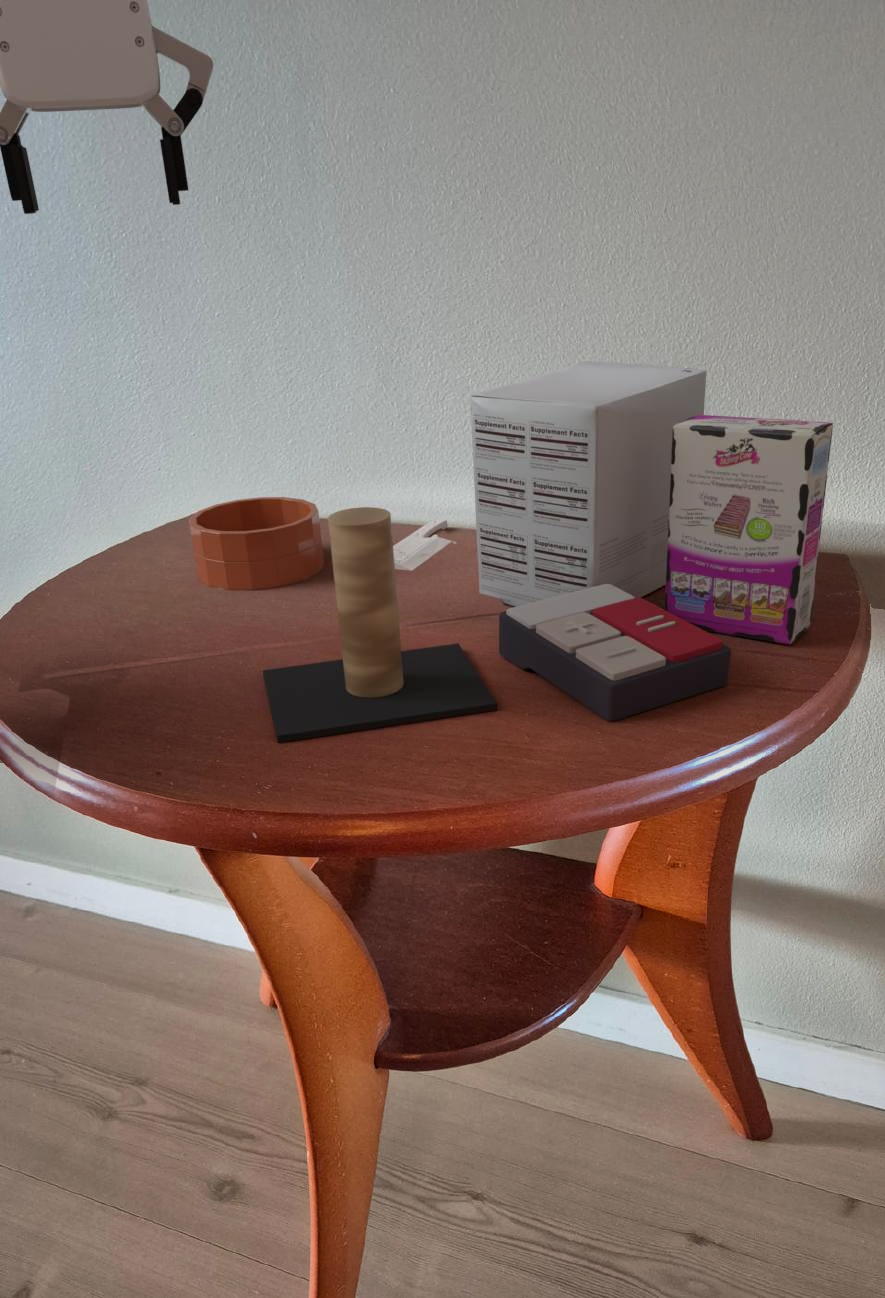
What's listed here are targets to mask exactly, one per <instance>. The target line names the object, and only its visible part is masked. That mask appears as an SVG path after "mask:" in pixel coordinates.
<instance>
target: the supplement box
mask: <svg viewBox="0 0 885 1298" xmlns="http://www.w3.org/2000/svg"><path fill="white" fill-rule="evenodd" d="M706 386H707V370H704V369H697V368H690V367H689V368H688V367H678V366H677V367H676V366H664V365H651V364H638V363H623V362H621V363H620V362H607V361H606V362H605V361H589V360H584V361H581V362H578V363H575V364H572V365H569V366H566V367H563V368H559V369H556V370H553V371H549V372H546V373H542V374H538V375H535V376H532V377H529V378H524V379H522V380H518V381H515V382H512V383H508V384H505V385H501V386H498V387H494V388H491V389H486V390H483V391H479V392H476V393H472V394H470V397H469V399H470V400H469V401H470V417H471V418H470V419H471V439H472V440H471V443H472V459H473V460H472V461H473V463H472V464H473V481H474V484H473V485H474V503H475V504H474V505H475V507H474V508H475V527H476V528H475V529H476V549H477V550H476V551H477V566H478V567H477V569H478V589H479V590H478V591H479V594H481V595H484V596H488V597H491V598H495V599H499V600H500V602H501V603H502V604H505V605H509V606H512V607H517V606H521V605H525V604H529V603H533V602H536V601H540V600H544V599H548V598H552V597H556V596H560V595H564V594H568V593H572V592H575V591H579V590H583V589H587V588H591V587H595V586H599V585H603V584H611V585H613V586H615V587H617V588H619V589H621V590H623V591H625V592H626V593H628V594H630V595H632V596H634V597H635V598H643V597H644V596H647V595H649V594H650V593H652V592H654V591H657V590H658V589H660V588H662V587H663V586H666V569H667V547H668V522H669V503H670V481H671V450H672V431H673V426H674V425H676V424H678V423H680V422H683V421H685V420H686V419H688V418H691V417H693V416H696V415H705V401H706V388H707V387H706Z"/></svg>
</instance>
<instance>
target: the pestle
mask: <svg viewBox="0 0 885 1298" xmlns="http://www.w3.org/2000/svg"><path fill="white" fill-rule="evenodd" d="M327 524H328V534H329V543H330V544H329V545H330V554H331V562H332V572H333V582H334V590H335V599H336V601H335V602H336V608H337V610H336V611H337V617H338V627H339V628H338V630H339V636H340V637H339V639H340V646H341V655H342V657H341V658H342V659H343V666H344V676H345V685H346V690H347V691H348V692H349V693H350V694H352V695H355V696H358V697H365V698H375V697H383V696H387V695H390V694H393V693H395V692H397V691H399V690H400V689H401V688H402V687H403V684H404V680H403V667H402V654H401V651H402V642H401V631H400V630H401V629H400V617H399V605H398V603H399V602H398V593H397V577H396V569H395V565H394V552H393V546H394V539H393V528H392V515H391V512H390V511H389V510H387V509H384V508H380V507H369V506H363V507H362V506H361V507H352V508H346V509H342V510H337V511H336V512H335V511H334V512H333V513H331V514H330V515H329V516H328V517H327Z"/></svg>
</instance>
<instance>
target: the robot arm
mask: <svg viewBox="0 0 885 1298" xmlns="http://www.w3.org/2000/svg"><path fill="white" fill-rule="evenodd" d="M158 55H159V56H161V57H162V58H165V59H166V60H168V61H170V62H173V63H174V64H177V65H178V66H180V67H182V68H184V69H185V70H186V71H187V72H188V75H189V79H188V83H187V86H186V89H185V93H184V94H183V95H182V97H181V98H180V100H179V101H178V103H177V104H176V106H175V107H174V109H172V107H171V106H170V105H169V104H168V103H167V102H166V100H165V99H164V98H163V97H162V96H161V95H160V93H161V74H160V65H159V59H158ZM214 66H215V65H214V61H213V59H212V58H211V56H209V55H208V54H206V53H204V52H202V51H200V50H198V49H196V48H195V47H193V46H190V45H189V44H187V43H185V42H183V41H181V40H179V39H178V38H176V37H174V36H172V35H170V34H168V33H167V32H164V31H163V30H160V29H159V28H157V27H155V26H154V25H152V18H151V13H150V9H149V3H148V0H0V90H1V92H2V95H3V97H4V98H5V99H6V100H5V102H4V105H3V106H2V108H1V110H0V154H1V159H2V162H3V163H2V164H3V167H4V171H5V177H6V181H7V185H8V186H7V187H8V190H9V195H10V197H11V201H12V202H18V201H21V205H22V210H23V213H24V215H30V214H36V213H37V212H39V210H40V209H39V202H38V198H37V194H36V187H35V184H34V179H33V174H32V170H31V164H30V160H29V156H28V150H27V148H26V147H25V146H23V145H22V141H21V137H20V134H21V132H22V129H23V127H24V126H25V124H26V122H27V120H28V118H29V116H30V114H31V112H35V113H51V112H54V113H55V112H57V113H58V112H78V111H79V112H80V111H99V110H101V111H102V110H119V109H133V108H140V107H143V108H144V110H145V111H146V112H147V113H148V114H149V115H150V116H151V117H152V118H153V119H154V120H155V122H156V123H157V124H158V125H159V126H160V130H161V136H162V139H159V142H160V143H159V145H160V150H161V156H162V163H163V169H164V176H165V182H166V189H167V195H168V201H169V204H172V206H177V205H181V200H180V199H181V198H180V192H186V191H189V184H188V178H187V176H188V175H187V169H186V163H185V157H184V156H185V155H184V148H183V143H182V135H183V134H184V132H185V131H186V129H187V128H188V126H189V125H190V123H191V122H192V121H193V119H194V118H195V116H196V115H197V113H198V112H199V110H200V109H201V108H202V105H203V103H204V100H205V96H206V93H207V89H208V86H209V83H210V80H211V77H212V73H213V70H214Z"/></svg>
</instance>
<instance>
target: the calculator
mask: <svg viewBox="0 0 885 1298" xmlns="http://www.w3.org/2000/svg"><path fill="white" fill-rule="evenodd" d="M498 653H499V655H500V656H501V657H503V658H504V659H506V660H508V662H510V663H512V664H513V665H515V666H516V667H518V668H519V669H520V670H522V671H525V670H528V669H530V670H532V671H534V673H536V674H538V675H539V676H541V677H542V678H544V679H545V680H547V681H548V682H549V683H551V684H553V685H554V686H555V687H557V688H559V689H560V690H562V691H563V692H565V693H566V694H567V695H569V696H570V697H571V698H574V699H575V700H576V701H578V702H579V703H581V704H582V705H584V706H585V707H587V708H588V709H589V710H591V711H592V712H594V713H595V714H597V715H598V716H599V717H601V718H602V719H604V720H606V721H608V722H615V721H616V722H617V721H619V720H622V719H625V718H629V717H632V716H634V715H637V714H640V713H644V712H647V711H649V710H653V709H656V708H659V707H662V706H666V705H668V704H672V703H675V702H679V701H682V700H685V699H688V698H691V697H693V696H697V695H699V694H700V695H701V694H704V693H706V692H709V691H713V690H715V689H718V688H719V689H720V688H723V687H724V686H726V685H727V684H728V681H729V673H730V672H729V671H730V663H731V655H732V649H731V647H730V646H728V645H725V644H724V640H723V639H721V638H719V637H717V636H715V635H713V633H712V634H711V633H709V631H705V630H702V629H700V628H698V627H696V626H694V625H692V624H690V623H688V622H687V621H685V620H683V619H681V618H679V617H677V616H675V615H673V614H671V613H669V612H667V611H665V610H664V609H663V608H662V607H660V606H658V605H655V604H654V603H652V602H650V601H648V600H646V599H645V598H643V597H641V598H635V597H634V596H632V595H630V594H628V593H626V592H625V591H623V590H621V589H619V588H617V587H615V586H613V585H611V584H603V585H599V586H595V587H591V588H587V589H583V590H579V591H575V592H572V593H568V594H564V595H560V596H556V597H552V598H548V599H544V600H540V601H536V602H533V603H529V604H525V605H521V606H517V607H516V606H512V607H510V608H507V609H506V610H505V611H501V612H500V613H499V614H498Z"/></svg>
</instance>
